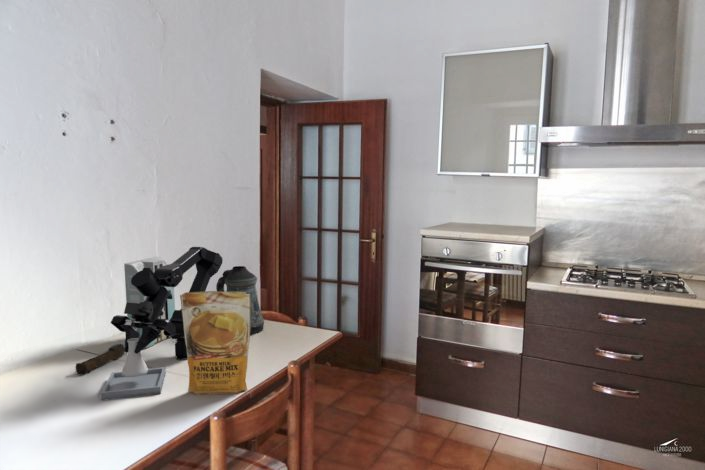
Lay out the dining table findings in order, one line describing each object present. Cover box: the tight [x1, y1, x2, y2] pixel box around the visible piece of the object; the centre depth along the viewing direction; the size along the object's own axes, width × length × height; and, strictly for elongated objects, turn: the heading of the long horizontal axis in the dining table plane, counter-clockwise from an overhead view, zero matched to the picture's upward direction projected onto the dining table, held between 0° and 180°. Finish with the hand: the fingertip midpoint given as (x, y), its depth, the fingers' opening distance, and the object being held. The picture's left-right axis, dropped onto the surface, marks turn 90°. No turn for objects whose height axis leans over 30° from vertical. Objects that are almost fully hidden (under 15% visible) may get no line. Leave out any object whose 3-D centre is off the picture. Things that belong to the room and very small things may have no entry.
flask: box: [121, 338, 149, 378], centre depth 144 cm, size 7×7×10 cm
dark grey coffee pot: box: [215, 265, 265, 336], centre depth 196 cm, size 16×19×25 cm
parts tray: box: [100, 366, 167, 401], centre depth 144 cm, size 15×15×2 cm
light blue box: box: [123, 256, 176, 350], centre depth 183 cm, size 16×8×30 cm, turn 162°
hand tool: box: [75, 343, 126, 376], centre depth 162 cm, size 19×4×5 cm, turn 161°
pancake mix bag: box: [179, 290, 251, 395], centre depth 140 cm, size 7×19×28 cm, turn 92°
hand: (130, 352), depth 142 cm, fingers closed on flask, 3 cm apart
